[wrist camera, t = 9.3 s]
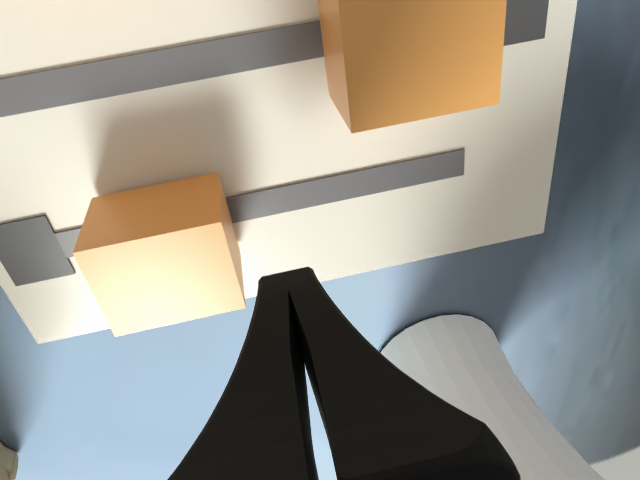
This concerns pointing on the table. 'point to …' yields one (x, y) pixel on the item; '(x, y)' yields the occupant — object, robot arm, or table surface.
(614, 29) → the table surface
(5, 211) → the switch board
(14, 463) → the handle
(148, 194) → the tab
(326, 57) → the tab middle
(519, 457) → the cup
